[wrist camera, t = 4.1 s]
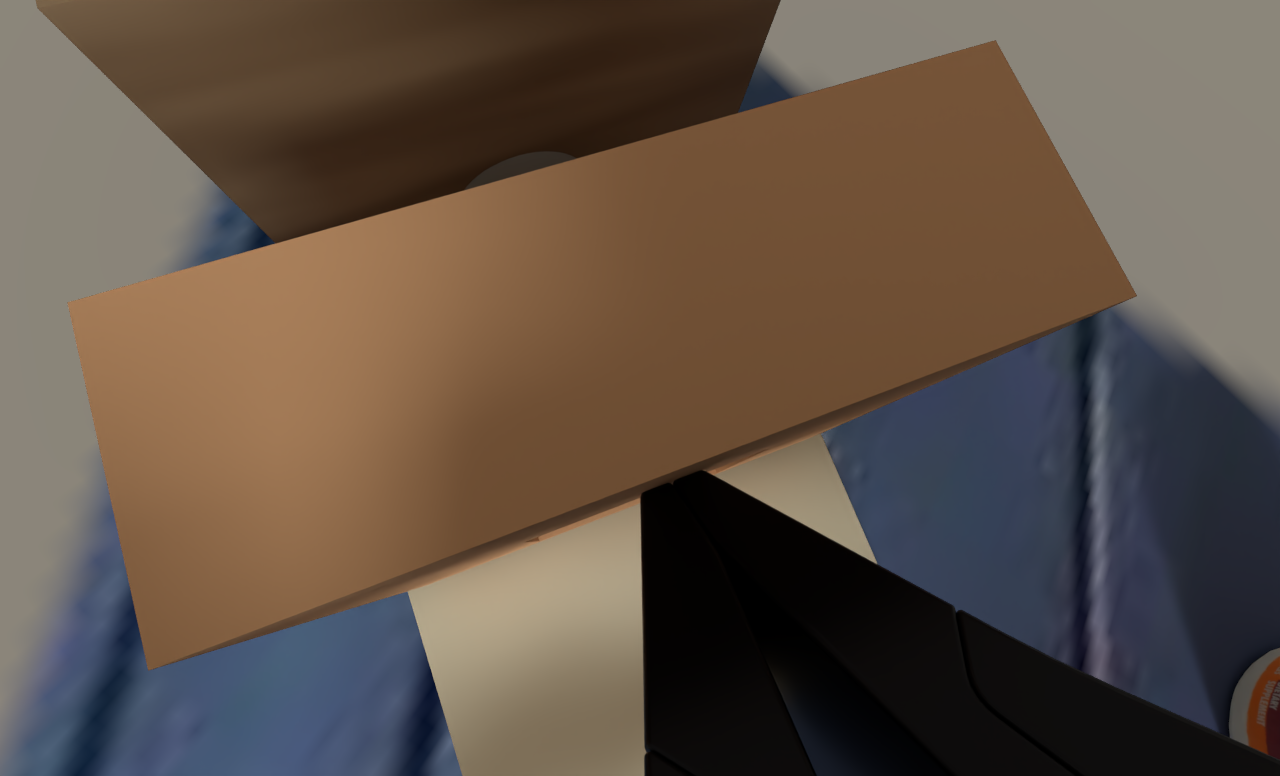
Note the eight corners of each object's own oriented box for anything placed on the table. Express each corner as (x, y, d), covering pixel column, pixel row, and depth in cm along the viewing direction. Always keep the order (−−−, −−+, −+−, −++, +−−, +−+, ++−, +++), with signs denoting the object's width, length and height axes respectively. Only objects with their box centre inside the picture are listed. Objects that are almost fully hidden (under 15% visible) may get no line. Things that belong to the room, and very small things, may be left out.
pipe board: (886, 645, 16) (1428, 830, 6) (495, 823, 14) (298, 1518, 4) (688, 182, 18) (827, -258, 8) (333, 288, 17) (-44, -102, 7)
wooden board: (807, 438, 15) (1136, 295, 6) (427, 585, 14) (148, 669, 5) (758, 322, 16) (995, 40, 7) (386, 451, 14) (67, 301, 5)
